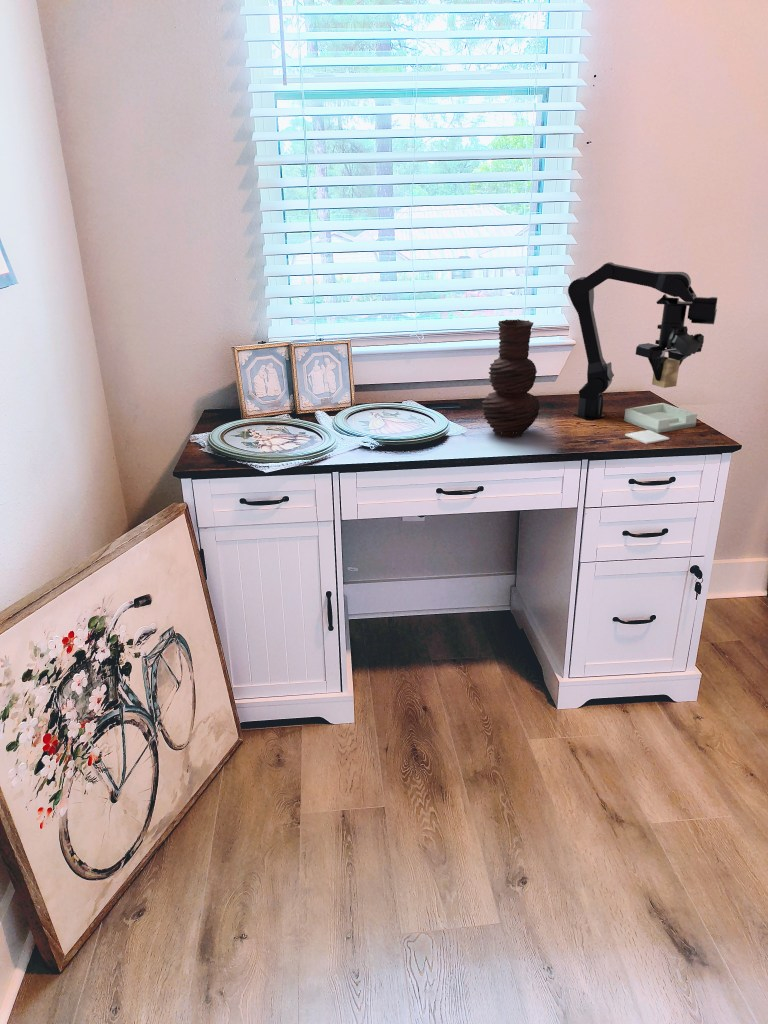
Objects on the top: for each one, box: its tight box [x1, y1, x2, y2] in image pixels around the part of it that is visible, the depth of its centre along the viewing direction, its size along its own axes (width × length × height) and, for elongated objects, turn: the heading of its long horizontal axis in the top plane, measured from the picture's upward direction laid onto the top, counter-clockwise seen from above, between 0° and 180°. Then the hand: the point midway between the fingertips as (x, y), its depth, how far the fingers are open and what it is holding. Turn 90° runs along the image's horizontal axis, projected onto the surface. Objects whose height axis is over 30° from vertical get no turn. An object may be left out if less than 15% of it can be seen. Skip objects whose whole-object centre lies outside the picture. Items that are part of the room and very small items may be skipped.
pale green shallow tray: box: [623, 402, 698, 434], centre depth 213 cm, size 14×13×4 cm
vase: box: [481, 319, 541, 439], centre depth 201 cm, size 15×15×30 cm
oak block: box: [651, 358, 680, 389], centre depth 207 cm, size 4×4×7 cm
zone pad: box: [624, 429, 670, 445], centre depth 202 cm, size 8×8×1 cm
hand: (664, 379), depth 208 cm, fingers closed on oak block, 4 cm apart
